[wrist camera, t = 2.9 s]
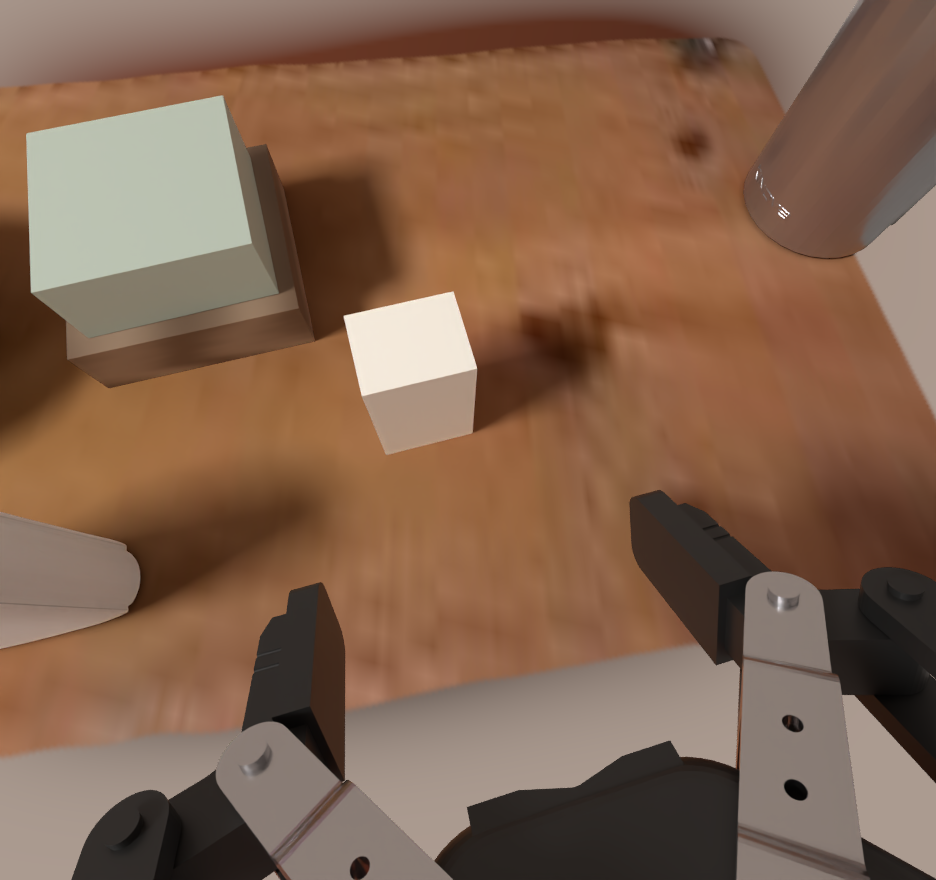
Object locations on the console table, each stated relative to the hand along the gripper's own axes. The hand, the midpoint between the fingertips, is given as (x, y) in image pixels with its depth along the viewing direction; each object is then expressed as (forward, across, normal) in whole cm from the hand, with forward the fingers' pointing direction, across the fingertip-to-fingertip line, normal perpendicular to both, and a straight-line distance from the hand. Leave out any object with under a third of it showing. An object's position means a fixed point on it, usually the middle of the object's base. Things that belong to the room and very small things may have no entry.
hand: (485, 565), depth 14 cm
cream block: (+18, 0, +3) cm, 18 cm away
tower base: (+27, +11, -5) cm, 30 cm away
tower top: (+24, +11, -8) cm, 28 cm away
